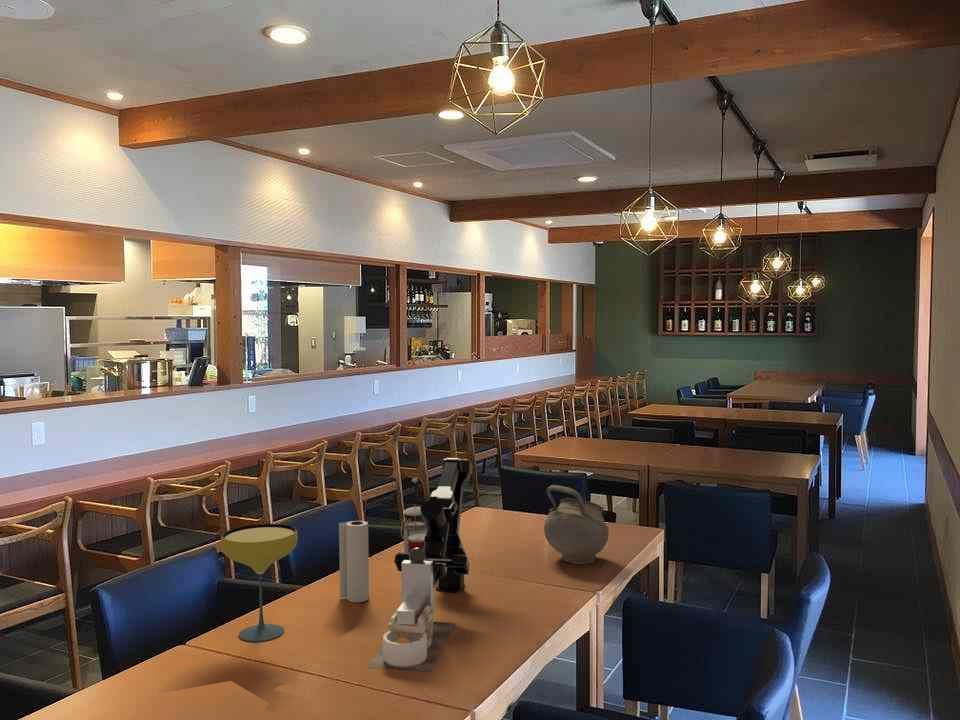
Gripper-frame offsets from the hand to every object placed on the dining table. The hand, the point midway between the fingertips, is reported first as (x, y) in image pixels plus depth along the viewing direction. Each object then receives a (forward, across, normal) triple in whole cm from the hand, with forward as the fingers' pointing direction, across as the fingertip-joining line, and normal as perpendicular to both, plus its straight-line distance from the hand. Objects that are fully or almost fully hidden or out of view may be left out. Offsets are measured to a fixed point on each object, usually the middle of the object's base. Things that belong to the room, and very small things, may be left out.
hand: (427, 594), depth 196 cm
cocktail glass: (+13, +40, +1) cm, 42 cm away
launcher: (+15, 0, +4) cm, 16 cm away
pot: (-37, -34, -50) cm, 71 cm away
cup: (+20, 0, +11) cm, 23 cm away
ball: (+19, 0, +13) cm, 23 cm away
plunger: (+15, 0, +6) cm, 16 cm away
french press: (-38, +19, -50) cm, 66 cm away
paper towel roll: (-6, +24, -18) cm, 31 cm away
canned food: (-24, +12, -36) cm, 45 cm away
